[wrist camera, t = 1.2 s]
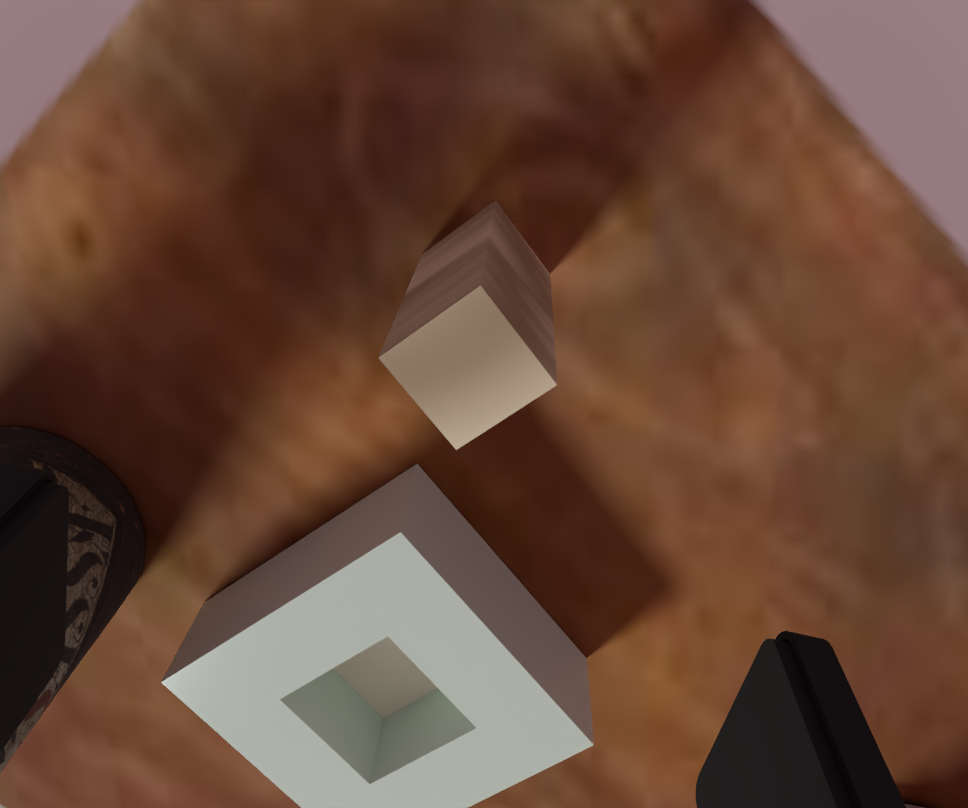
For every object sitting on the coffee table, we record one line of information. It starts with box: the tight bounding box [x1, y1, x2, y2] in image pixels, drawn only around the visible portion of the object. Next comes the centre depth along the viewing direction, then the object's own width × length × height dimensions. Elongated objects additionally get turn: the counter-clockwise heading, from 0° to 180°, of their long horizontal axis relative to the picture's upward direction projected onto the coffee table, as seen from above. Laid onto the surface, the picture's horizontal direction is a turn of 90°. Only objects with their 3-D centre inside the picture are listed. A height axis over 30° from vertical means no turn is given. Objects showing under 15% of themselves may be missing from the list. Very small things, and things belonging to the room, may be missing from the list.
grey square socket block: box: [161, 464, 594, 808], centre depth 33 cm, size 11×11×4 cm
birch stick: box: [378, 200, 557, 450], centre depth 25 cm, size 3×3×9 cm
